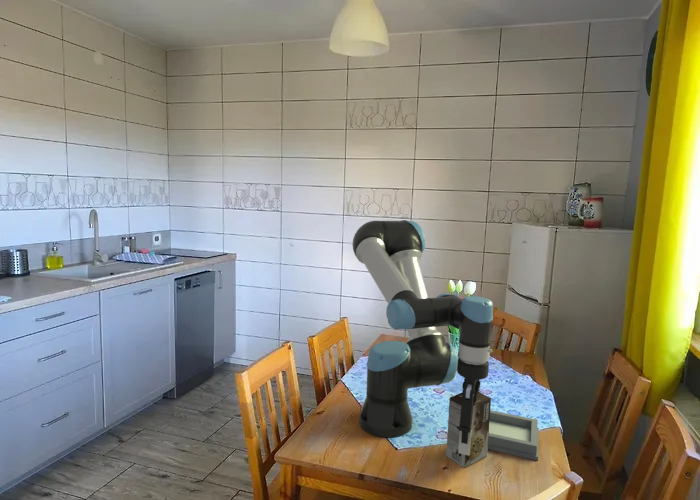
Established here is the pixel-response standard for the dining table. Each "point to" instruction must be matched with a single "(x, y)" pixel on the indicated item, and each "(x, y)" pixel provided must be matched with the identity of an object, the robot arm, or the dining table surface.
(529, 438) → the tray
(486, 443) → the coffee box
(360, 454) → the dining table surface
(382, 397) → the robot arm
